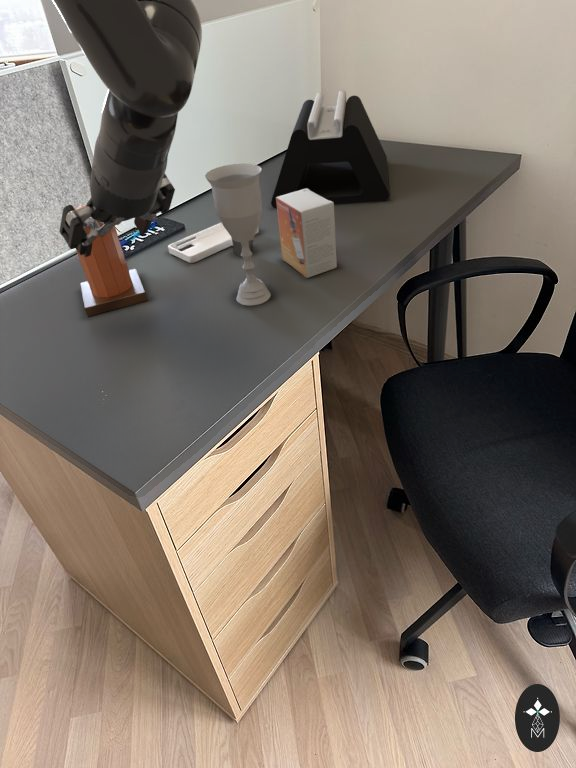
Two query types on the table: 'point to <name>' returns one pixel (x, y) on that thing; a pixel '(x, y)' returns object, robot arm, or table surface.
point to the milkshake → (239, 246)
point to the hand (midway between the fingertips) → (112, 239)
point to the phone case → (203, 244)
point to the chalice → (240, 218)
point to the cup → (106, 265)
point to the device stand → (335, 154)
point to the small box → (307, 232)
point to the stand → (113, 297)
